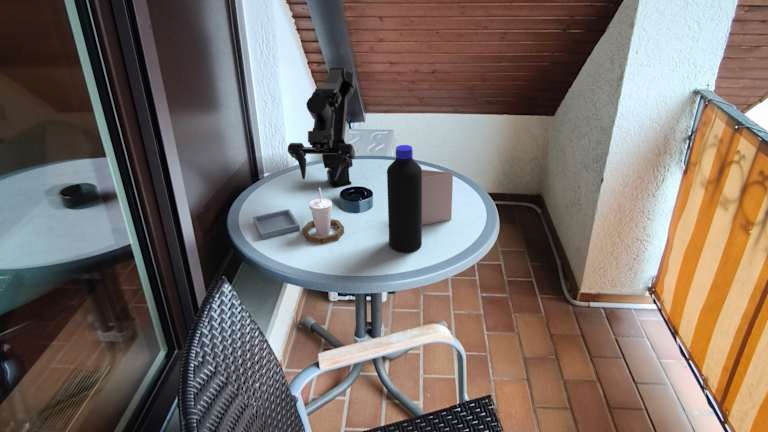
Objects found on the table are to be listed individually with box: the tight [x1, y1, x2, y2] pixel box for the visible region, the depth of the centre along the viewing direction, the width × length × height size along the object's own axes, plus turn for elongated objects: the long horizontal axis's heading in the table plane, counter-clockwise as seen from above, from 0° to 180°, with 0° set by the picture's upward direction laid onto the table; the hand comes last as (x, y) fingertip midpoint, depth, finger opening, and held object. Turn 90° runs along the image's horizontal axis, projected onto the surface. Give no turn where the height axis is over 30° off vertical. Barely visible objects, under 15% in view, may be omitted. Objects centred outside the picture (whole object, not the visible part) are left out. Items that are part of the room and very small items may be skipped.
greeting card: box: [422, 169, 454, 226], centre depth 154 cm, size 11×7×15 cm, turn 72°
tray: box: [252, 208, 301, 241], centre depth 157 cm, size 11×11×2 cm
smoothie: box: [308, 187, 333, 237], centre depth 150 cm, size 6×6×14 cm
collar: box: [301, 218, 345, 245], centre depth 153 cm, size 11×11×2 cm
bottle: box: [386, 144, 423, 254], centre depth 140 cm, size 9×9×28 cm
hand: (319, 179), depth 154 cm, fingers open, 9 cm apart
